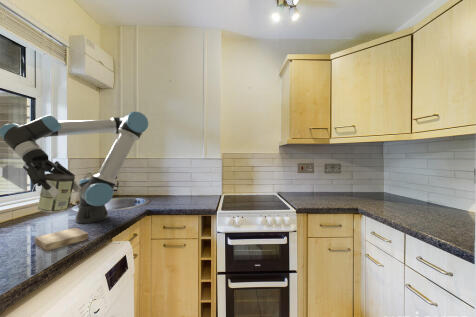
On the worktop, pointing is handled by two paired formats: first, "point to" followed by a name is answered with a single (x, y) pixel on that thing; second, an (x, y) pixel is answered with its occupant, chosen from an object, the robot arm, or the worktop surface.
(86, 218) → the robot arm
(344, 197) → the worktop surface
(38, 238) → the chopping board
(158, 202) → the worktop surface
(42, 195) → the coffee can
